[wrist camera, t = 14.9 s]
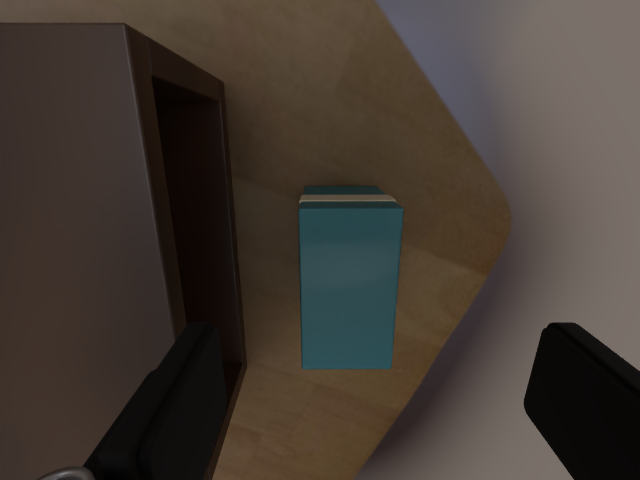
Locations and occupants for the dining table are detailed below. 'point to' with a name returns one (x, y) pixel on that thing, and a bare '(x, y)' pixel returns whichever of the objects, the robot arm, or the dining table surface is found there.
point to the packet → (348, 276)
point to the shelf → (105, 232)
